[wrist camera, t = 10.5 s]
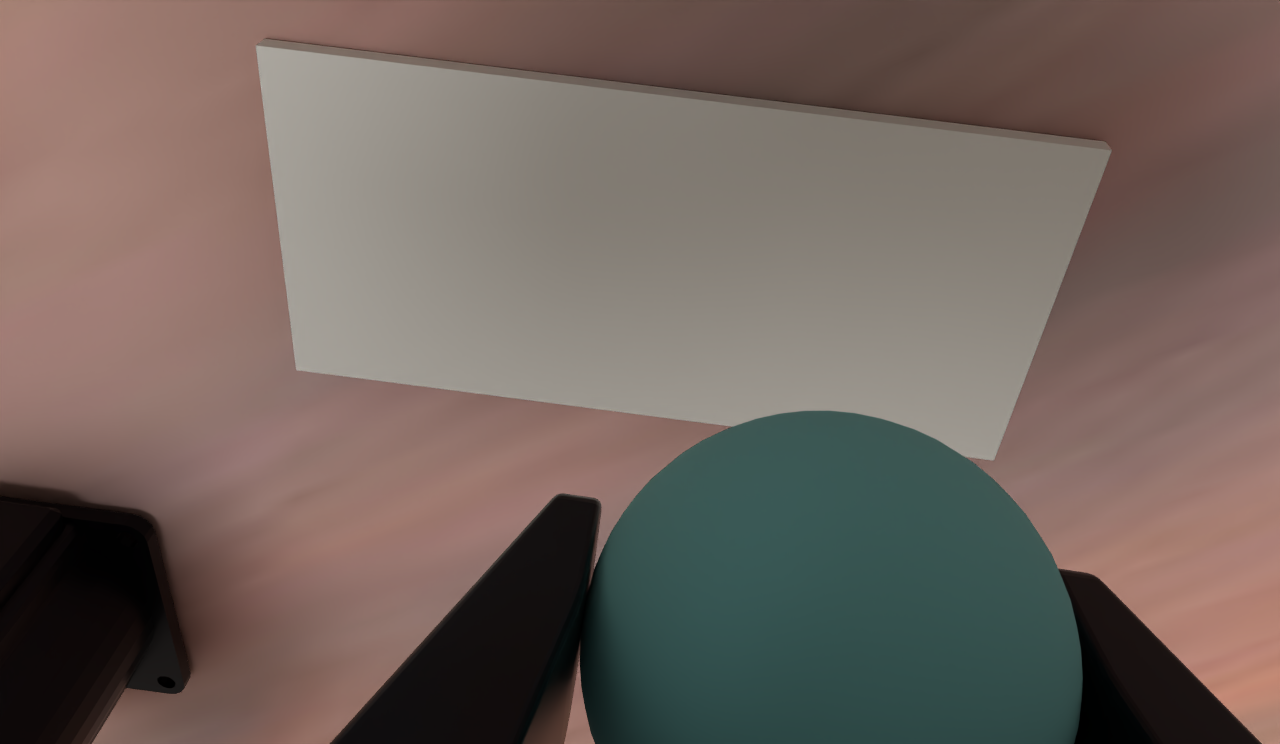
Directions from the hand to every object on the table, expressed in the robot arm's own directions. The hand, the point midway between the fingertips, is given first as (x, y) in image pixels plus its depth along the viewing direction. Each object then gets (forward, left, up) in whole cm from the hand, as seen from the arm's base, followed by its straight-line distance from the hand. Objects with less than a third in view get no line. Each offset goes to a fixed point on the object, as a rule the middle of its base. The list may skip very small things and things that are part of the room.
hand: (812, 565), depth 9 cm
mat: (-3, +2, -11) cm, 12 cm away
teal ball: (0, 0, +1) cm, 1 cm away
